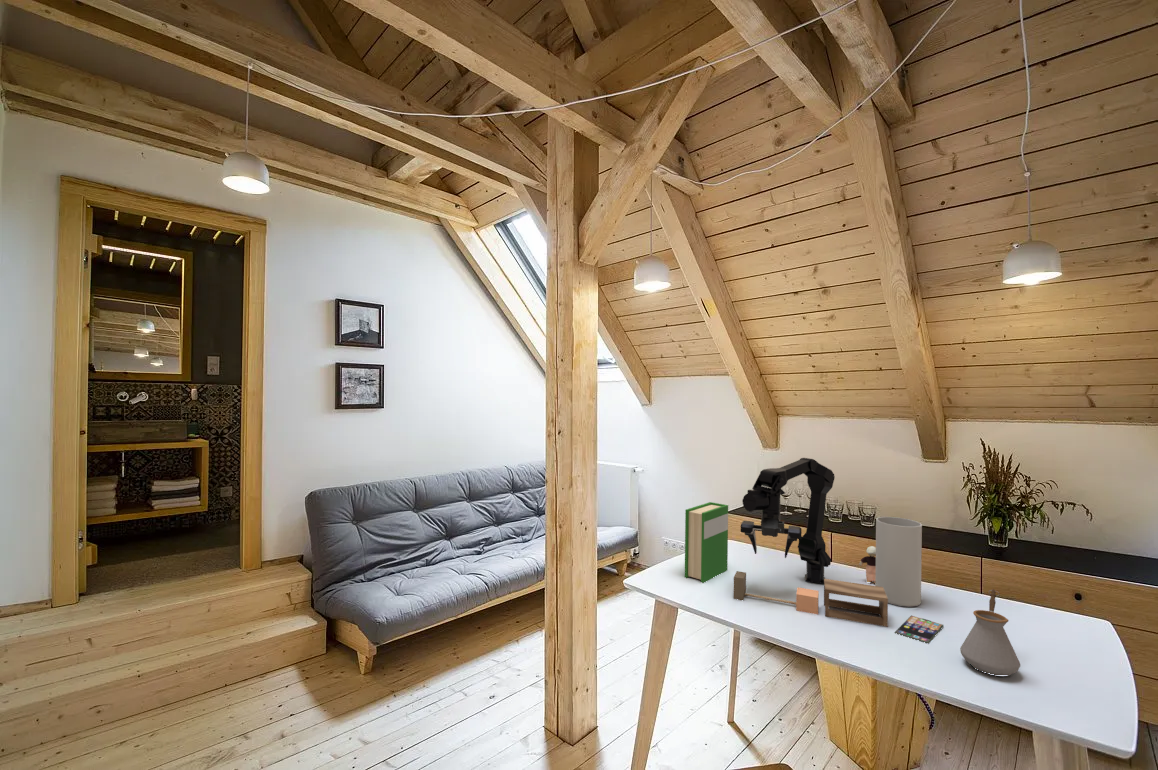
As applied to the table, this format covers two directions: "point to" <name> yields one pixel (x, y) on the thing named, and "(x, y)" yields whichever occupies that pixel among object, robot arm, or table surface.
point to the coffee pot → (990, 643)
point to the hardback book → (706, 541)
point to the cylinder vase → (899, 560)
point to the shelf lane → (858, 592)
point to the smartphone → (919, 629)
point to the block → (804, 599)
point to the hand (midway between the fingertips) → (770, 555)
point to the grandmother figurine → (870, 564)
